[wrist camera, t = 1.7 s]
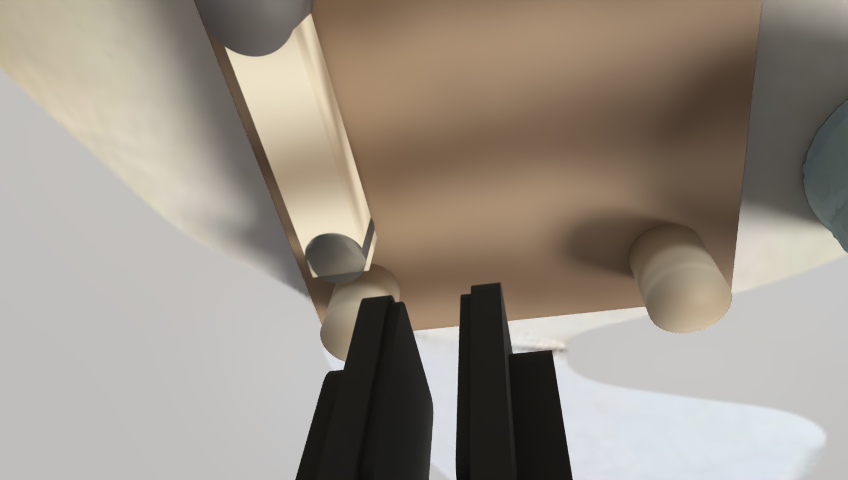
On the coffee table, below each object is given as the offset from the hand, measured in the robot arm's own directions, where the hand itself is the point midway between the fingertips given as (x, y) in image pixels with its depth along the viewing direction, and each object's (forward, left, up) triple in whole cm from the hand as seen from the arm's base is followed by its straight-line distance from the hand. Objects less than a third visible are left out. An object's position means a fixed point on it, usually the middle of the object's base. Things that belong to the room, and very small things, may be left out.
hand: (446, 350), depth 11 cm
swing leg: (0, -6, -14) cm, 15 cm away
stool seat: (+2, +1, -17) cm, 17 cm away
